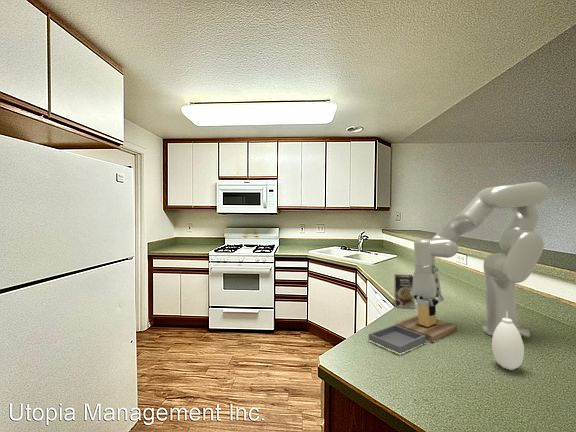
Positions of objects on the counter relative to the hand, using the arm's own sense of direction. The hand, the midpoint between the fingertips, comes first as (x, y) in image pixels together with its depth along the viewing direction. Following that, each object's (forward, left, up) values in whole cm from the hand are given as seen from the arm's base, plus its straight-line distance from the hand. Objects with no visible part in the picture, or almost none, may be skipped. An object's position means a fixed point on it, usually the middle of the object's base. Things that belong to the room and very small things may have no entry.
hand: (426, 313), depth 119 cm
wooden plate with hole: (0, 0, -7) cm, 7 cm away
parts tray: (0, +19, -7) cm, 21 cm away
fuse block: (0, 0, -4) cm, 4 cm away
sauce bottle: (-31, +7, -7) cm, 32 cm away
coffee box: (+24, -19, -7) cm, 31 cm away
